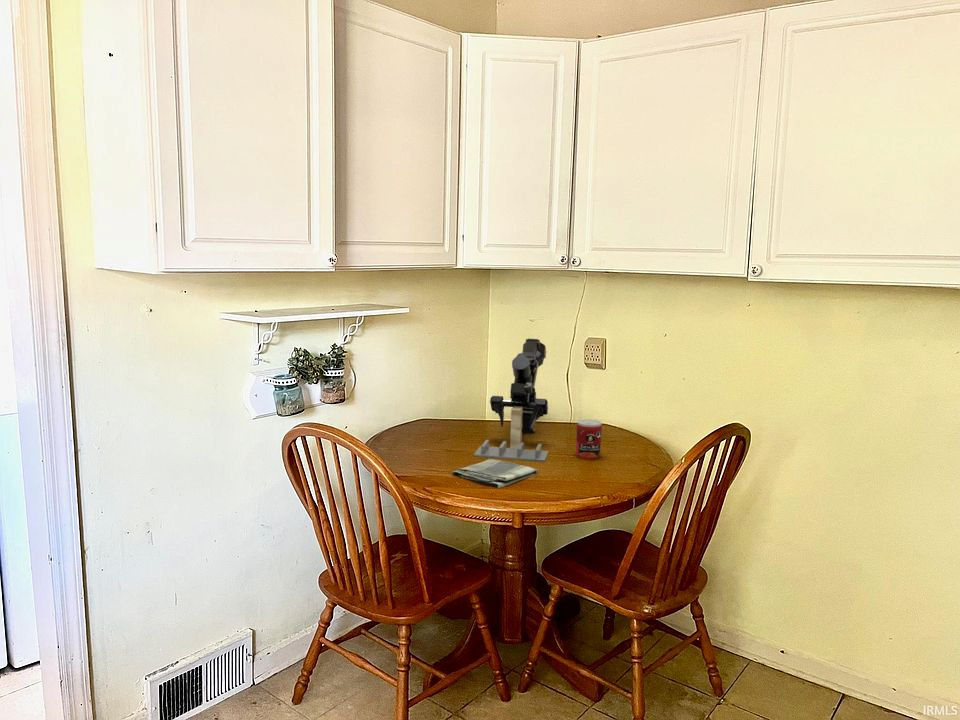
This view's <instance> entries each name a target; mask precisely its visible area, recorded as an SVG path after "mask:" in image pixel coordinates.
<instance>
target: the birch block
mask: <svg viewBox="0 0 960 720" xmlns="http://www.w3.org/2000/svg"><path fill="white" fill-rule="evenodd" d="M522 410H523V407H517V406H513V407H511V410H510V412H511V413H510V442H509V444H510V445H509V448H513V449H517V448H518V447H519V445H520V443H521V442H522V438H523V437H522V436H523V434H522Z"/></svg>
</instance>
